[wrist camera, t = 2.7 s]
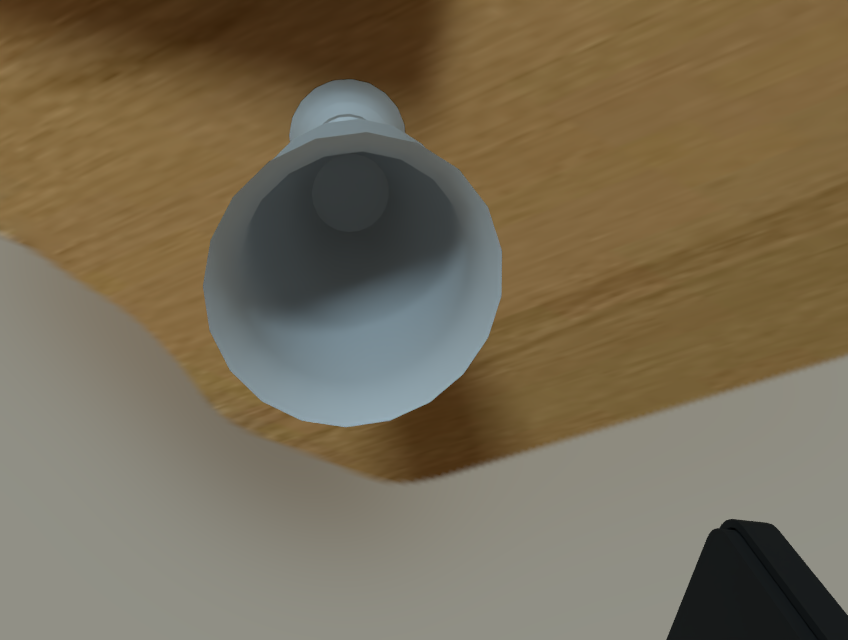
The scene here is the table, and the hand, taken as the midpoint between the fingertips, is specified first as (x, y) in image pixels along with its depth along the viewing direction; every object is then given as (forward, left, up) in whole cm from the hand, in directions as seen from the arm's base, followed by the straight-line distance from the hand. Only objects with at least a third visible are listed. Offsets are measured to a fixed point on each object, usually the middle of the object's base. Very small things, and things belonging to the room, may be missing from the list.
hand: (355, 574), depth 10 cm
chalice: (0, 0, -27) cm, 27 cm away
